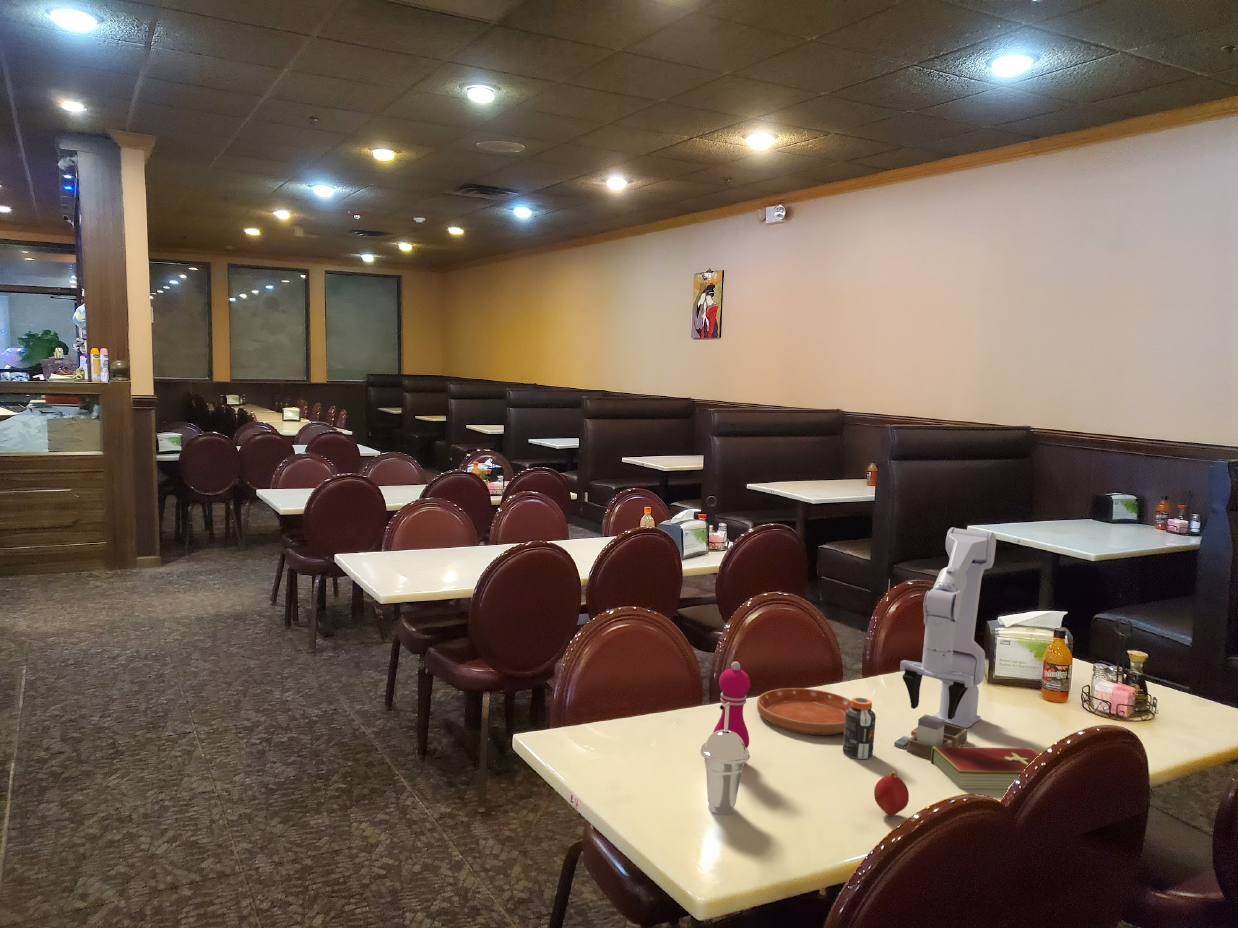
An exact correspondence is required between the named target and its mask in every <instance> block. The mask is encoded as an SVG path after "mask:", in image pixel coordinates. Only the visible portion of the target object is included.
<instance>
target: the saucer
mask: <svg viewBox="0 0 1238 928" xmlns="http://www.w3.org/2000/svg"><path fill="white" fill-rule="evenodd" d="M756 701H757V702H756V708H757V709H756V710H757V712H758V713H759V714H760V716H761V717H762V718H764V719H765V720H767V721H768V722H770V723H771V724H772V725H774V726H776V727H778V728H781V729H783V730H786V731H790V732H794V733H798V734H805V735H813V736H827V735H828V736H829V735H838V734H841V733H844V727H845V716H846V711H847V709H848V708H850V707H852V706H851V702H852V699H849V698H847V697H845V696H842V695H839V694H836V693H833V692H829V691H823V690H821V689H820V690H819V689H814V688H812V689H811V688H804V687H803V688H800V687H799V688H798V687H797V688H796V687H792V688H791V687H788V688H785V687H784V688H778V689H773V690H769V691H765V692H763V693H762V694H760V695H759V696H758V698H757V700H756Z"/></svg>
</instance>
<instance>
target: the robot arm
mask: <svg viewBox="0 0 1238 928" xmlns="http://www.w3.org/2000/svg"><path fill="white" fill-rule="evenodd" d="M946 534H947V535H946V537H945V550H946V552H947V555H948V558H949V559H948V560H949V561H948V565H947V567H944V568H942V569H941V570H939V571H940V572H939V573H938V576H937V578H936V579H935V580H936V581H935V582H934V584H933V588H931V589H930V590H926V592H925V595H924V598H923V605H922V607H923V608H922V609H923V610H922V611H923V612H922V613H923V625H925V626H924V627H925V628H924V639H923V647H922V648H923V649H922V661H921V662H920V661H919V662H918V661H912V660H908V659H907V660H906V659H903V660H900V663H899V664H900V668H899V671H901V672H904V673H903V674H902V680H903V682H904V684H905V686H906V688H907V692H908V696H909V700H910V708H911V709H913V710H914V709H916V708H918V707H919V705H920V704H919V703H920V691H921V683H922V681H923V680H922V679H923V676H924V677H929V678H932V679H936V680H940V681H941V688H940V689H941V690H940V699H939V709H938V710H939V712H937V713H935V714H934V715H933V717H937V718H940V719H944V720H945V723H946V724H950V725H953V726H957V727H960V728H964V729H968V728H970V727H971V726H972V725H973V724H975V723H976V722H978V721H979V720H980V719H982V716H980V715H978V705H979V693H980V691H979V687H978V685H980V684H981V683H983V680H984V677H985V669H986V653H985V650H984V649H983V648H982V646H981V645H979V643H977V642H976V641H975V633H976V625H977V624H976V623H977V617H978V611H979V610H978V609H979V602H980V593H981V585H982V577H983V575H984V572H985V570H988V569H991V568H993V565H994V563H995V556H996V555H995V554H996V548H997V547H996V546H997V537H996V534H995V533H994V531H988V532H987V531H980V530H972V529H965V528H964V529H963V528H957V527H955V526H954V527H950V528H949V529H948V530H947V533H946Z"/></svg>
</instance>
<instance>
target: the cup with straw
mask: <svg viewBox="0 0 1238 928" xmlns="http://www.w3.org/2000/svg"><path fill="white" fill-rule="evenodd" d="M724 708H725V722H724V729H722V730H718V731H716V732H714V733H713V732H712V733H711V734H709V736H708V738H707V740H706V741H705V743H703V744H702V745H701V746H700V750H699V753H700V755H701V756H702V758H704V765H705V770H706V771H705V773H706V790H707V791H706V793H707V802H708V805H707V808H708V810H709V811H711V812H712V813H714V814H718V815H731V814H733V813H734V811H735V806H736V803H737V800H738V799H737V797H738V794H739V793H738V792H739V787H740V782H741V777H742V773H743V771H744V767H745V764H746V762H748V760H750V757H751V756H750V751H749V749H748V748H746V747H745V745H744V742H743V740H742V738H741V737H740V736H739V735H738V734H737V733H735V732H733V731H731V730H728V722H729V708H730V706H729V702H728V701H726V702H725V703H723V704H722V703H721V705H720V706H719V709H720V710H721V711H722V710H723V709H724ZM744 763H745V764H744Z"/></svg>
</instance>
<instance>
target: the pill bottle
mask: <svg viewBox="0 0 1238 928" xmlns="http://www.w3.org/2000/svg"><path fill="white" fill-rule="evenodd" d="M851 701H852V702H851V706H852V707H850V708H848V709H847V711H846V716H845V727H844V732H843V739H842V752H843V753H844V755H845V756H848V757H850V758H853V759H857V760H867V759H870V758H872V757H873V754H874V753H873V752H874V742H875V741H874V739H875V729H876V719H877V717H876V714H875V712H874V711H873V710H872V709H873V701H872V700H871V699H868V698H865V697H859V696H858V697H853V698H852V699H851Z"/></svg>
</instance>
